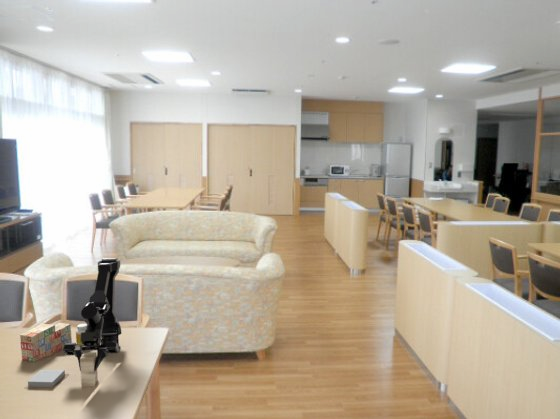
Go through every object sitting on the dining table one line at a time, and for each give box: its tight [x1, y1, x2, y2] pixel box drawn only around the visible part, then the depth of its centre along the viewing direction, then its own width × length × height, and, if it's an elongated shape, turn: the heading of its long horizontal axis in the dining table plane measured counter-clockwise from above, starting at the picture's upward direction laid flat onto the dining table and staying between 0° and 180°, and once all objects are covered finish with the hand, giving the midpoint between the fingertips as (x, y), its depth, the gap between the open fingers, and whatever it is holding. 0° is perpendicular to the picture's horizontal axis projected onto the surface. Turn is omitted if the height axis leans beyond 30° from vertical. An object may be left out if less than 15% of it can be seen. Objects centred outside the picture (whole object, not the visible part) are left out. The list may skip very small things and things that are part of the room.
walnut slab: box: [24, 373, 70, 390], centre depth 175 cm, size 11×11×2 cm
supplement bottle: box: [75, 323, 87, 346], centre depth 207 cm, size 5×5×10 cm
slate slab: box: [27, 369, 66, 387], centre depth 175 cm, size 9×9×2 cm
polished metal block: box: [79, 351, 98, 388], centre depth 173 cm, size 4×4×12 cm
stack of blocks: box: [19, 322, 73, 363], centre depth 200 cm, size 21×6×12 cm, turn 163°
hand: (87, 371), depth 171 cm, fingers closed on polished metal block, 4 cm apart
